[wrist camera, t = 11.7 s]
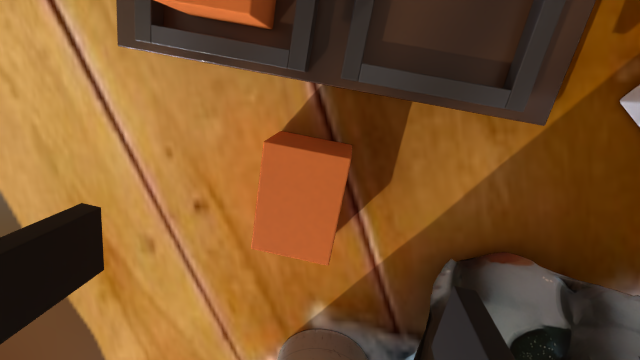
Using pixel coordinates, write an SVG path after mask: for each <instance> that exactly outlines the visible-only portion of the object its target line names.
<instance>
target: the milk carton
mask: <svg viewBox="0 0 640 360" xmlns="http://www.w3.org/2000/svg"><path fill="white" fill-rule="evenodd" d="M620 103H621V105H622V106H623V107H624V108H625V110H626V111H627V112H628V113H629V115H630V116H631V117H632V118H633V120H634V121H635V122H636V123H637V125H638V126H639V127H640V85H639V86H637V87H636V88H635V89H633V90H632V91H631V92H629V93H628V94H627V95H625V96H624V97H623V98H622V99H621V100H620Z"/></svg>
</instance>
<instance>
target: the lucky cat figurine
mask: <svg viewBox="0 0 640 360" xmlns="http://www.w3.org/2000/svg"><path fill="white" fill-rule="evenodd" d="M453 286H458V287H463V288H467V289H472V290H476V291H477V293H478V295H479V297H480V298H481V300H482V302H483V304H484V305H485V307H486V309H487V311H488V312H489V314H490V316H491V318H492V319H493V321H494V323H495V325H496V326H497V328H498V330H499V332H500V333H501V335H502V337H503V339H504V340H505V342H506V344H507V346H508V347H509V349H510V351H511V353H512V354H513V356H514V358H515V360H640V296H638V295H637V296H632V295H629V294H625V293H622V292H619V291H617V290H613V289H610V288H605V287H603V286H600V285H595V284H591V283H587V282H583V281H579V280H576V279H573V278H570V277H567V276H564V275H561V274H558V273H555V272H553V271H550V270H548V269H545V268H543V267H540V266H538V265H537V264H536V263H534V262H533V261H531V260H529V259H527V258H524V257H522V256H518V255H515V254H511V253H505V252H502V253H493V254H488V255H484V256H480V257H476V258H471V259H466V260H460V261H459V262H455V261H454V260H452V259H450V260H449V261H448V262H447V263H446V264H445V266H444V267H443V269H442V270H441V272H440V274H439V275H438V277H437V279H436V280H435V282H434V284H433V291H432V294H431V301H430V313H429V317H428V321H427V326H426V330H425V332H424V335H423V337H422V340H421V342H420V345H419V347H418V350H417V353H416V355H415V358H414V360H435V359H434V355H433V352H432V348H431V346H432V343H433V340H434V337H435V335H436V332H437V329H438V327H439V324H440V321H441V318H442V316H443V313H444V310H445V308H446V305H447V302H448V300H449V297H450V294H451V291H452V289H453Z"/></svg>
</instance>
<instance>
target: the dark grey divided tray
mask: <svg viewBox="0 0 640 360" xmlns="http://www.w3.org/2000/svg"><path fill="white" fill-rule="evenodd" d="M595 1H596V0H276V5H275V14H274V23H273V29H272V30H270V29H265V28H259V27H253V26H248V25H242V24H237V23H231V22H225V21H220V20H214V19H208V18H203V17H197V16H192V15H189V14H186V13H184V12H182V11H179V10H177V9H174V8H172V7H169V6H167V5H165V4H162V3H160V2H157V1H155V0H117V32H118V46H120V47H126V48H131V49H136V50H142V51H147V52H152V53H158V54H163V55H168V56H174V57H179V58H184V59H190V60H195V61H200V62H206V63H211V64H217V65H222V66H227V67H233V68H238V69H243V70H249V71H254V72H259V73H265V74H270V75H275V76H281V77H286V78H291V79H297V80H302V81H307V82H313V83H318V84H323V85H329V86H334V87H339V88H345V89H350V90H355V91H361V92H366V93H371V94H377V95H382V96H388V97H393V98H398V99H404V100H409V101H414V102H420V103H425V104H430V105H436V106H441V107H446V108H452V109H457V110H462V111H468V112H473V113H478V114H484V115H489V116H494V117H500V118H505V119H510V120H516V121H521V122H526V123H532V124H537V125H543V126H544V125H545V124H546V121H547V119H548V116H549V114H550V112H551V109H552V107H553V104H554V102H555V99H556V97H557V94H558V92H559V89H560V87H561V85H562V82H563V80H564V77H565V75H566V72H567V70H568V67H569V65H570V62H571V60H572V58H573V55H574V53H575V50H576V48H577V45H578V43H579V40H580V38H581V36H582V33H583V31H584V28H585V26H586V23H587V21H588V18H589V16H590V13H591V11H592V9H593V6H594V4H595Z"/></svg>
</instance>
